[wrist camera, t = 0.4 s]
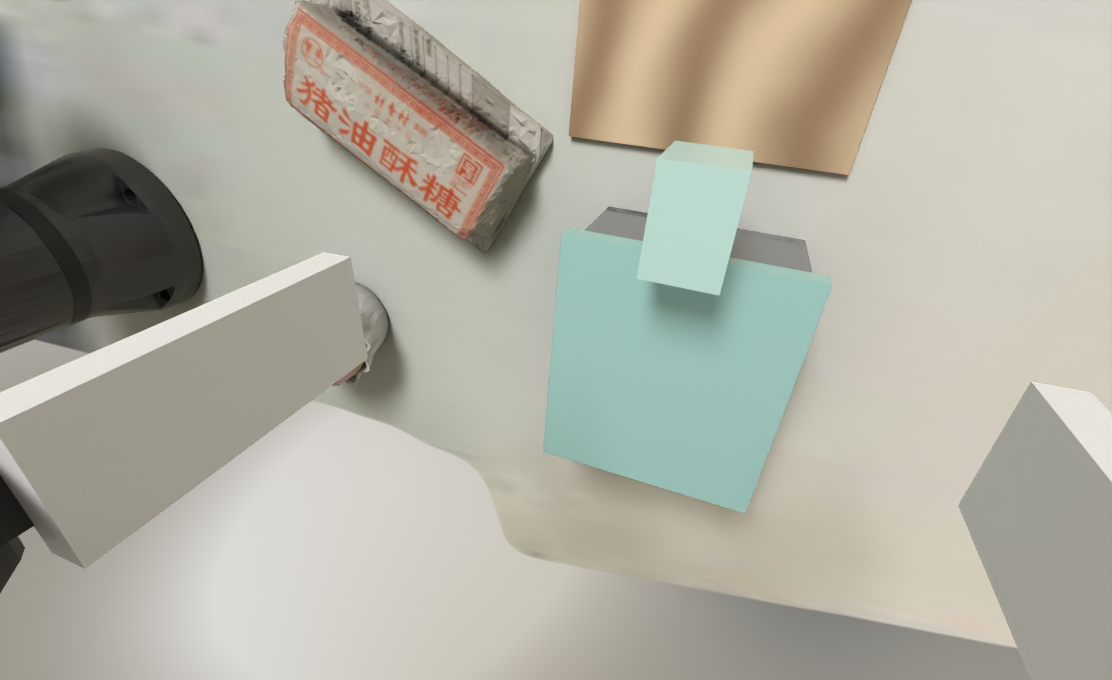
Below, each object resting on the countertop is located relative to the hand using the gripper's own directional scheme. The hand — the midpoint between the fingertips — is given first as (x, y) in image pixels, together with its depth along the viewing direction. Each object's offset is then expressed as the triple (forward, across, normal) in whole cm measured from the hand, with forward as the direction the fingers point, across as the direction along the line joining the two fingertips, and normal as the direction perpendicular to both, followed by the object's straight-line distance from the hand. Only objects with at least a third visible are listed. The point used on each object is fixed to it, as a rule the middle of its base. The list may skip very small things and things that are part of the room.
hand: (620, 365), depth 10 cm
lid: (+17, 0, -8) cm, 18 cm away
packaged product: (+24, -20, +1) cm, 32 cm away
